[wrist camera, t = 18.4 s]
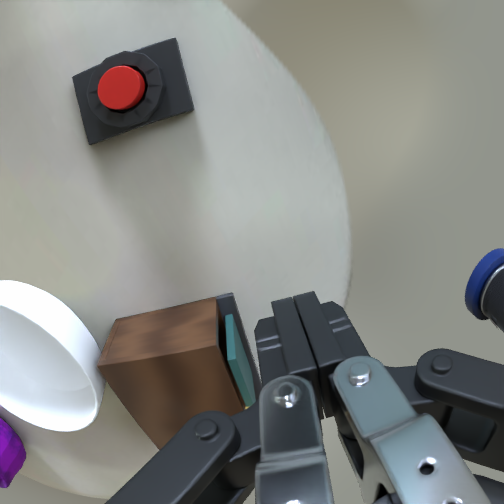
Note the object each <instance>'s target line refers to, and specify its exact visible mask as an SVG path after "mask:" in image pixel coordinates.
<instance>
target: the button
mask: <svg viewBox="0 0 504 504" xmlns="http://www.w3.org/2000/svg"><path fill="white" fill-rule="evenodd" d="M144 90H145V83H144V79H143V77H142V76H141V74H140V73H139V72H137V71H136V70H134V69H132V68H130V67H127V66H116V67H113V68H111V69H110V70H108V71H107V72H106V73H105V74H104V75H103V76H102V78H101V79H100V82H99V85H98V96H99V99H100V101H101V102H102V103H103V105H105V106H106V107H108V108H110V109H118V110H124V109H129V108H131V107H133V106H135V105H136V104H137V103H138V102H139V101H140V100H141V98H142V96H143V94H144Z"/></svg>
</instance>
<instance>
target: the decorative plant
mask: <svg viewBox="0 0 504 504" xmlns="http://www.w3.org/2000/svg"><path fill="white" fill-rule="evenodd" d="M25 459H26V451H25V449H24V446H23V443H22V441H21V440H20V438H19V436H18V435H17V434H16V433H15V431H14V430H13V429H12V428H11V427H10V426H9V425H8V424H7V423H6V422H5V421H3V420H2V419H1V418H0V487H1V488H7V487H8V486H9V485H10V483H11V481H12V480H13V478H14V476H15V475H16V474H17V472H18V471H19V470H20V469H21V468H22V466H23V463H24V461H25Z"/></svg>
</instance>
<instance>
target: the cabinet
mask: <svg viewBox="0 0 504 504" xmlns="http://www.w3.org/2000/svg"><path fill="white" fill-rule="evenodd" d="M230 314H232V315H233V317H234V320H235V323H236V327H237V330H238V333H239V336H240V339H241V342H242V345H243V348H244V350H245V353H246V356H247V359H248V362H249V365H250V368H251V371H252V377H253V384H254V392H255V399H256V400H257V399H258V398H259V395H260V392H261V390H262V383H261V380H260V377H259V374H258V371H257V368H256V365H255V362H254V359H253V355H252V352H251V349H250V346H249V343H248V340H247V337H246V334H245V330H244V327H243V324H242V321H241V318H240V315H239V311H238V308H237V305H236V302H235V299H234V295H233V293H229V294H225V295H220V296H217V297H212V298H208V299H204V300H200V301H195V302H191V303H187V304H182V305H178V306H174V307H169V308H165V309H161V310H156V311H152V312H147V313H143V314H138V315H133V316H129V317H124V318H120V319H116V320H115V322H114V325H113V327H112V329H111V332H110V334H109V337H108V339H107V341H106V344H105V346H104V349H103V351H102V354H101V356H100V359H99V361H98V364H97V367H98V369H99V370H100V372H101V373H102V375H103V376H104V378H105V379H106V381H107V382H108V384H109V385H110V387H111V388H112V390H113V391H114V392H115V394H116V395H117V397H118V398H119V399H120V401H121V402H122V403H123V405H124V406H125V408H126V409H127V410H128V412H129V413H130V414H131V415H132V417H133V418H134V419H135V421H136V422H137V423H138V425H139V426H140V427H141V428H142V430H143V431H144V432H145V433H146V435H147V436H148V437H149V438H150V439H151V441H152V442H153V443H154V444H155V445H156V447H157V448H158V449H159V450H160V449H161V448H162V447H163V446H164V445H165V444H166V443H167V442H168V441H169V440H170V439H171V438H172V437H173V436H174V435H175V434H176V433H177V432H178V431H179V430H180V429H181V428H182V427H183V426H184V424H185V423H186V422H187V421H188V420H189V419H191V418H192V417H193V416H195V415H197V414H199V413H201V412H205V411H211V410H213V411H221V412H224V413H226V414H228V415H229V416H232V415H235V414H237V413H239V412H241V411H243V410H245V409H246V405H245V403H244V400H243V398H242V395H241V393H240V390H239V388H238V385H237V383H236V381H235V378H234V376H233V373H232V371H231V368H230V366H229V363H228V360H227V343H226V322H225V316H226V315H230Z"/></svg>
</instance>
